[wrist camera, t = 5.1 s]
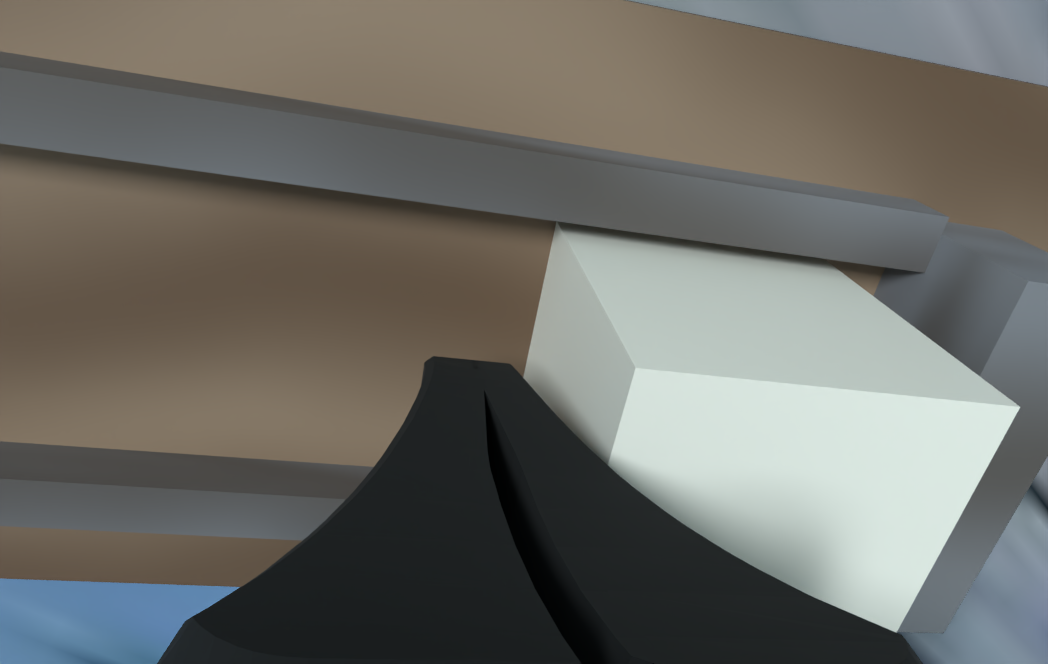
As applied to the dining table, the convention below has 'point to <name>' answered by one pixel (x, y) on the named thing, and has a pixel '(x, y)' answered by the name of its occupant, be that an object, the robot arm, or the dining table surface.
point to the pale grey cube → (766, 407)
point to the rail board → (438, 239)
